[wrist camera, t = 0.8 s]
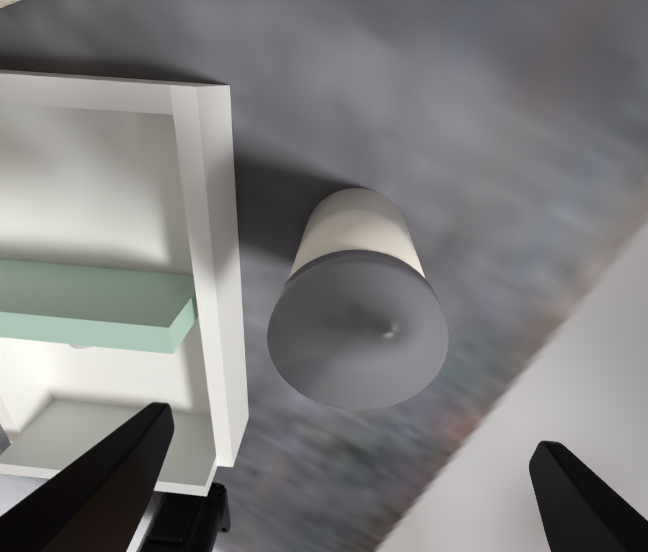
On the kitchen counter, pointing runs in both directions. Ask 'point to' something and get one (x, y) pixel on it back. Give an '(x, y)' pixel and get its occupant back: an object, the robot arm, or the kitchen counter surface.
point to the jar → (357, 308)
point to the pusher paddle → (95, 306)
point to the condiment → (7, 2)
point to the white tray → (123, 264)
